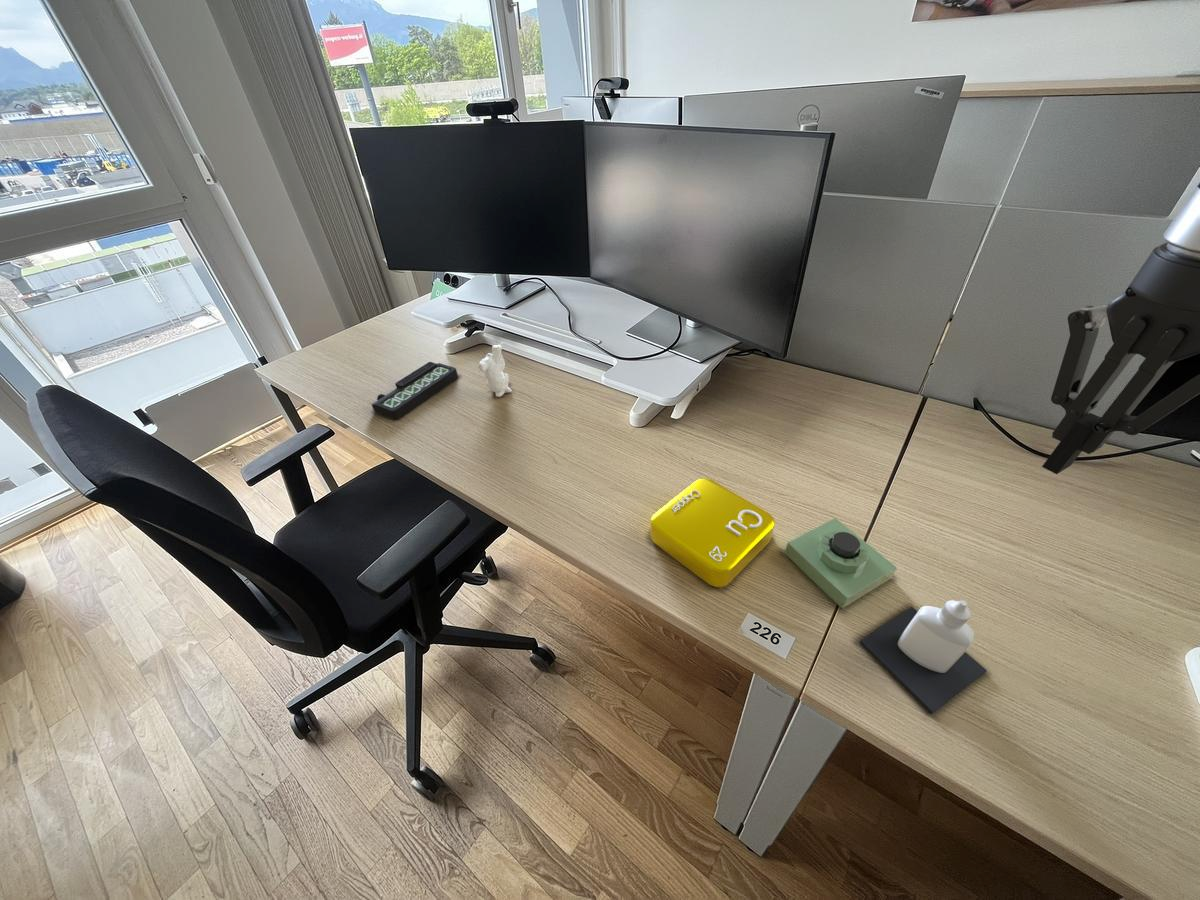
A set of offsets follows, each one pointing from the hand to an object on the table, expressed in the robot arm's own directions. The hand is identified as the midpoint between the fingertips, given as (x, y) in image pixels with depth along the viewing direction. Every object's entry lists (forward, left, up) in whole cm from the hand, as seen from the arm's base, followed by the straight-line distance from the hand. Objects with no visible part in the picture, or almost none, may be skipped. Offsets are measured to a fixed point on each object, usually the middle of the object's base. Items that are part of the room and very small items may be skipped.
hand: (1056, 466), depth 52 cm
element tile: (+25, +27, -23) cm, 43 cm away
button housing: (+11, +14, -22) cm, 29 cm away
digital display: (+99, +62, -23) cm, 119 cm away
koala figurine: (+87, +43, -23) cm, 100 cm away
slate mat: (-4, +16, -22) cm, 28 cm away
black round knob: (+11, +14, -18) cm, 26 cm away
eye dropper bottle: (-4, +16, -22) cm, 27 cm away
